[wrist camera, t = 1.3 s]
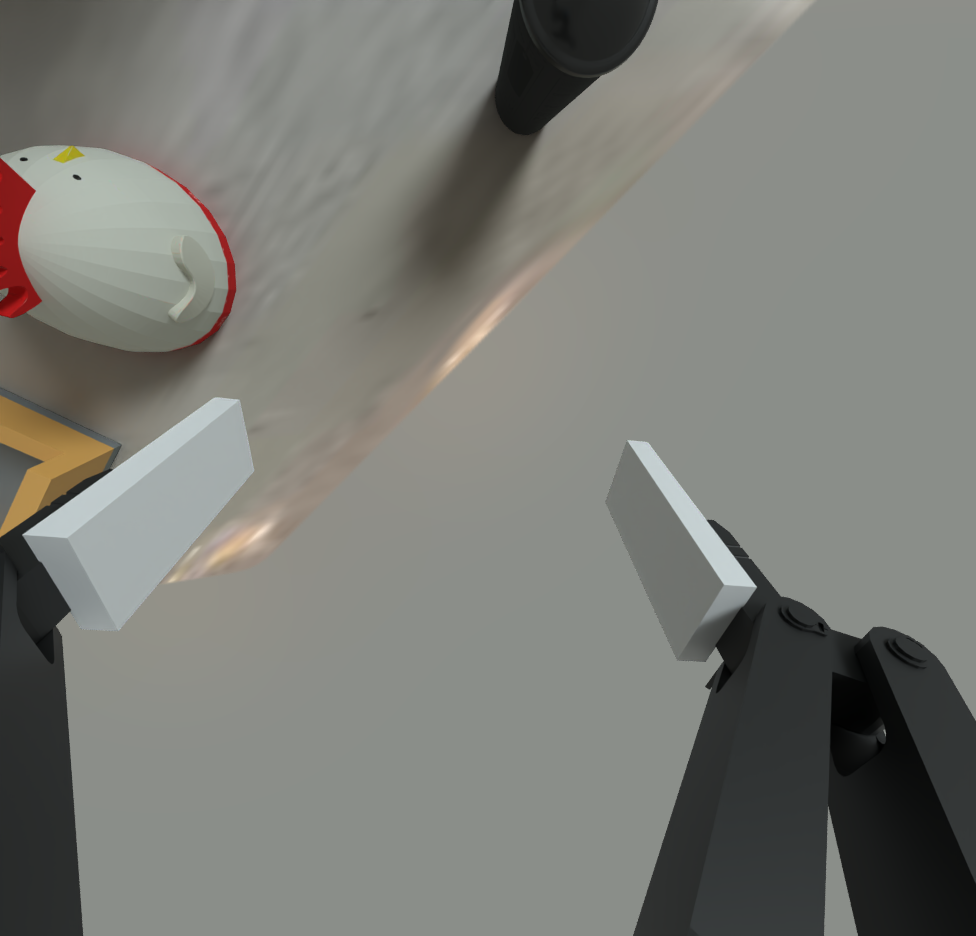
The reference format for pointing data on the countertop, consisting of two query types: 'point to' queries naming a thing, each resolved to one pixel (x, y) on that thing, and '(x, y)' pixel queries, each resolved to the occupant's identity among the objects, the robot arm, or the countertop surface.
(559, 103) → the drinking cup
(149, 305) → the kitchen timer
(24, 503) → the chute bracket
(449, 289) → the countertop surface
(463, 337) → the countertop surface
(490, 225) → the countertop surface
